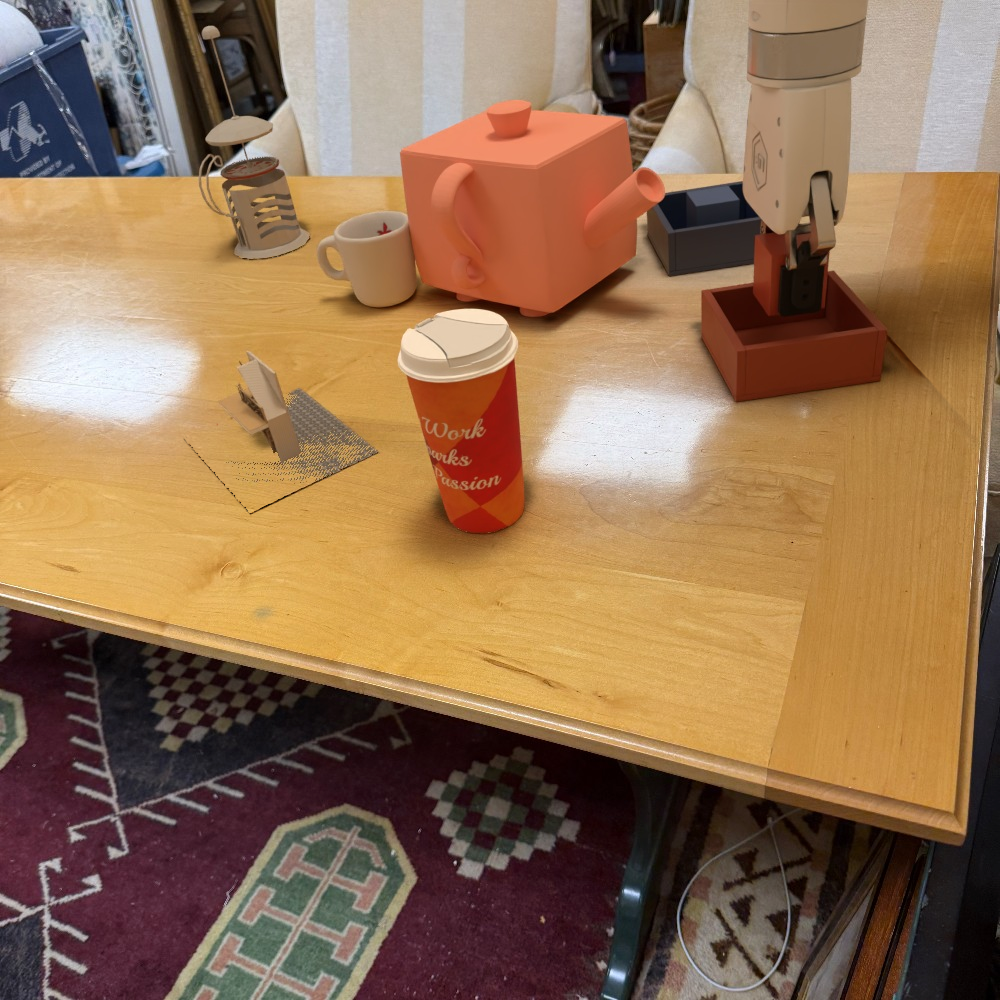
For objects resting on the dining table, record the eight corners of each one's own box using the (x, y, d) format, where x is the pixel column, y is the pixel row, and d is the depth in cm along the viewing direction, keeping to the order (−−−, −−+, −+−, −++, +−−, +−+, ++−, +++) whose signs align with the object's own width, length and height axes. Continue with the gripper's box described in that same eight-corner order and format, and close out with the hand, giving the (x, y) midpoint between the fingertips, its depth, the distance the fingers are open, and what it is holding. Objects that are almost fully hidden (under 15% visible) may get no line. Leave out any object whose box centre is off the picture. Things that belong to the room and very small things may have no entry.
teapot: (722, 266, 92) (725, 77, 81) (595, 366, 79) (579, 158, 68) (528, 233, 106) (509, 69, 95) (394, 313, 93) (354, 134, 83)
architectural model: (264, 471, 73) (235, 390, 68) (232, 438, 78) (203, 361, 73) (302, 453, 74) (276, 373, 70) (268, 422, 79) (242, 345, 74)
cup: (315, 315, 96) (295, 242, 91) (343, 283, 102) (325, 213, 97) (411, 313, 93) (395, 238, 88) (434, 280, 99) (420, 208, 94)
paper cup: (411, 516, 65) (368, 342, 57) (487, 465, 69) (458, 295, 61) (485, 560, 60) (451, 376, 52) (563, 502, 64) (543, 322, 56)
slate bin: (749, 220, 100) (751, 179, 98) (781, 259, 91) (784, 215, 89) (647, 235, 101) (646, 195, 98) (669, 276, 92) (668, 233, 89)
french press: (326, 236, 114) (269, 16, 100) (250, 271, 108) (177, 42, 93) (281, 224, 120) (222, 15, 106) (207, 256, 114) (132, 39, 99)
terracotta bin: (829, 318, 80) (834, 270, 78) (880, 380, 71) (887, 329, 69) (701, 337, 81) (701, 290, 78) (735, 402, 72) (737, 351, 69)
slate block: (727, 231, 97) (728, 185, 94) (738, 247, 94) (739, 199, 91) (686, 238, 98) (686, 191, 95) (696, 253, 94) (695, 206, 91)
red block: (806, 285, 75) (810, 226, 72) (824, 308, 71) (830, 247, 68) (752, 293, 75) (755, 234, 72) (768, 316, 71) (771, 255, 68)
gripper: (718, 37, 69) (715, 265, 80) (788, 88, 55) (773, 354, 66) (817, 21, 69) (800, 252, 79) (912, 69, 55) (876, 339, 66)
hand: (788, 296), depth 73 cm, fingers closed on red block, 4 cm apart
